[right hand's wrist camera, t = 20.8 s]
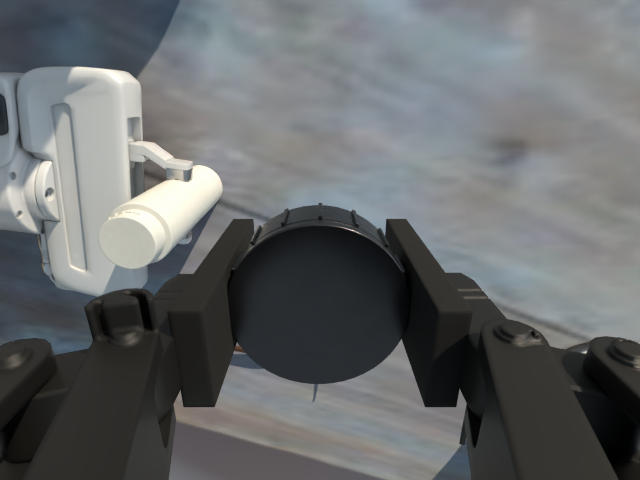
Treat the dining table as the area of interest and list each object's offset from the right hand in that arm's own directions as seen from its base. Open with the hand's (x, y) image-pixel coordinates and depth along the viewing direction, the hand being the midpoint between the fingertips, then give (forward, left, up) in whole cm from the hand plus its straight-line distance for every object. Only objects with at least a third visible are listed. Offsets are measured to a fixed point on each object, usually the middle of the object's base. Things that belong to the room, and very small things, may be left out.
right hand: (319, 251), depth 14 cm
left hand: (-2, +12, -18) cm, 22 cm away
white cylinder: (-2, +13, -24) cm, 27 cm away
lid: (0, 0, +4) cm, 4 cm away
